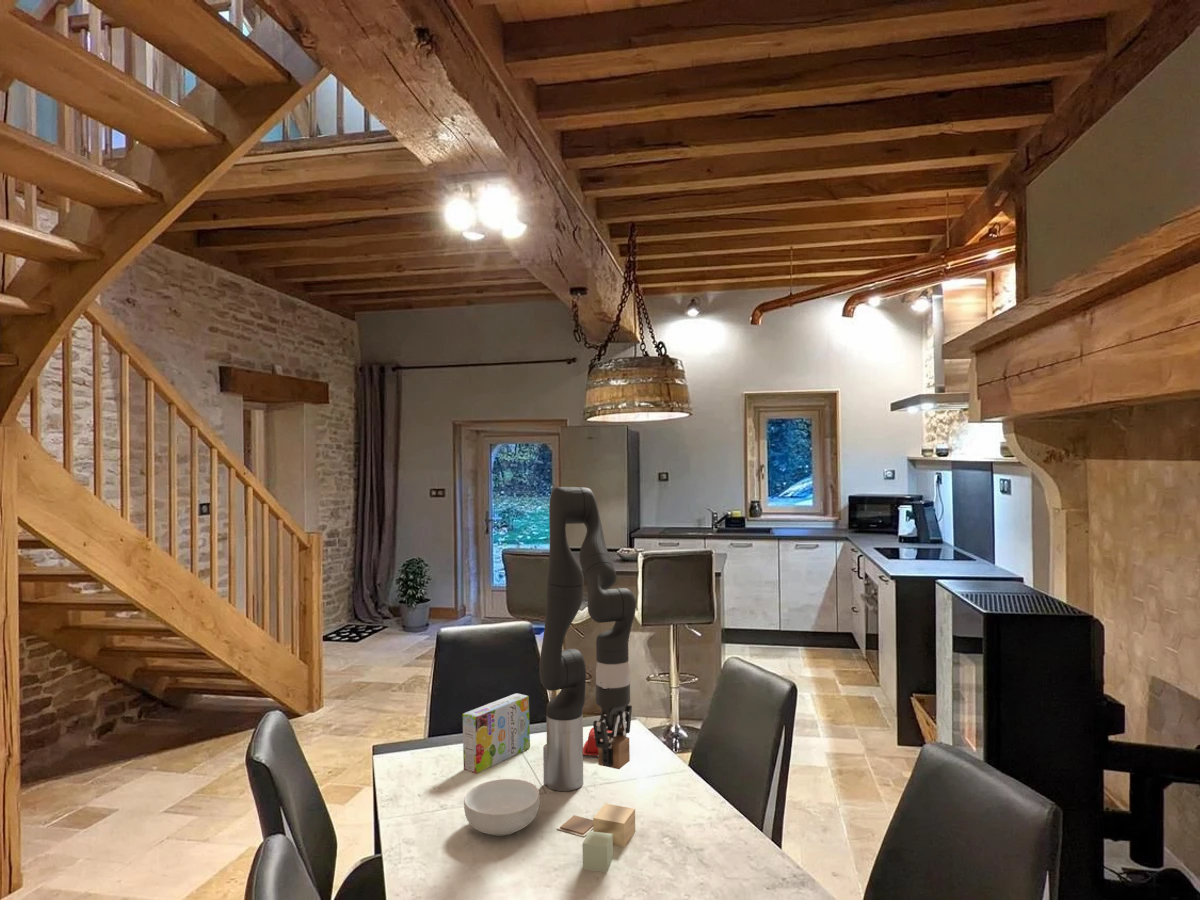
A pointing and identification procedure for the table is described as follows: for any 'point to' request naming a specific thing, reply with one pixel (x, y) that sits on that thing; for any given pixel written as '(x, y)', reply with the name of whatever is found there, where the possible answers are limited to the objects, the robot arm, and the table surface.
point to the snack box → (495, 732)
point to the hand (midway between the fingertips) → (613, 760)
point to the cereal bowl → (501, 806)
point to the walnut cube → (617, 752)
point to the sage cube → (597, 851)
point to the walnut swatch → (577, 826)
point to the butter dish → (591, 744)
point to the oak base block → (615, 823)
